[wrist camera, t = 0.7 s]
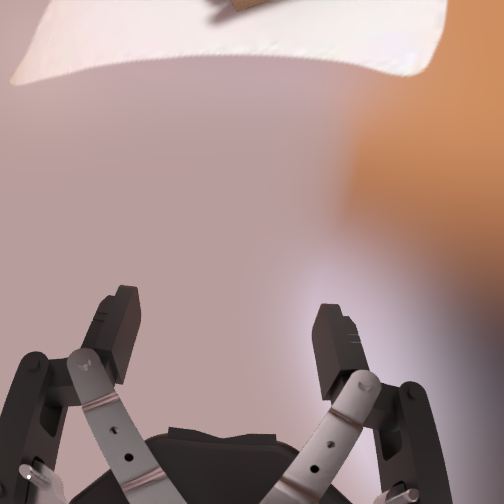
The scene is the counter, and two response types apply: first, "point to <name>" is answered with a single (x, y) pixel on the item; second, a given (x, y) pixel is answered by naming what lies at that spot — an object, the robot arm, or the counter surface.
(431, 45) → the counter surface
